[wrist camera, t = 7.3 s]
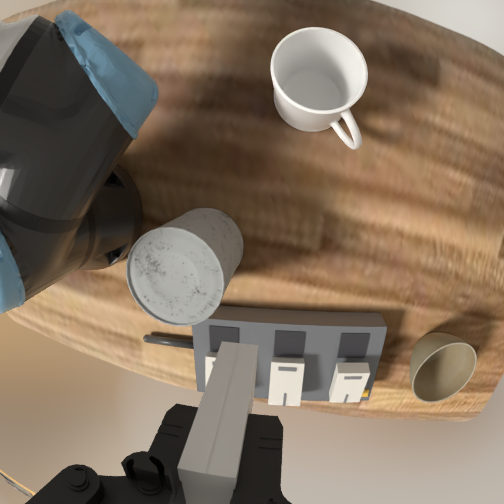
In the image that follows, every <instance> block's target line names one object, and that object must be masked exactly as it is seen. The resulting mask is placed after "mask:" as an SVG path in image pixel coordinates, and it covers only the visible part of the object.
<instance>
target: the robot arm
mask: <svg viewBox="0 0 504 504" xmlns="http://www.w3.org/2000/svg"><path fill="white" fill-rule="evenodd" d="M54 20H55V23H53V22H51V21H49V20H47V19H45V18H43V17H41V16H39V15H36V14H34V15H31V16H29V17H26V18H23V19H21V20H18V21H16V22H12V23H5V22H3V21H1V20H0V314H1V313H4V312H6V311H8V310H11V309H13V308H15V307H19V306H21V305H23V304H24V302H25V301H27V300H28V299H30V298H31V297H33V296H35V295H36V294H38V293H39V292H41V291H43V290H44V289H46V288H48V287H49V286H51V285H52V284H54V283H56V282H57V281H59V280H61V279H62V278H64V277H66V276H67V275H69V274H71V273H72V272H74V271H76V270H98V269H104V268H107V267H110V266H112V265H114V264H115V263H117V262H118V261H120V260H122V259H123V258H124V257H126V256H127V255H128V254H129V252H130V250H131V248H132V247H133V245H134V243H135V242H136V241H137V240H138V237H139V234H140V230H141V225H142V206H141V200H140V197H139V193H138V191H137V188H136V186H135V184H134V182H133V181H132V179H131V178H130V176H129V175H128V174H127V173H126V171H125V170H124V169H122V168H121V167H120V166H119V165H117V163H118V161H119V160H120V158H121V157H122V155H123V154H124V152H125V151H126V149H127V148H128V146H129V145H130V144H131V142H132V141H133V139H134V140H136V138H137V137H138V131H139V129H140V128H141V126H142V125H143V123H144V122H145V120H146V119H147V117H148V116H149V114H150V113H151V111H152V110H153V108H154V107H155V105H156V103H157V100H158V95H159V91H158V87H157V84H156V82H155V81H154V79H153V78H152V77H151V76H150V75H149V74H147V73H146V72H145V71H144V70H143V69H142V68H141V67H140V66H139V65H137V64H136V63H135V62H134V61H133V60H132V59H131V58H129V57H128V56H127V55H126V54H125V53H124V52H122V51H121V50H120V49H119V48H118V47H116V46H115V45H114V44H113V43H112V42H110V41H109V40H108V39H107V38H106V37H104V36H103V35H102V34H101V33H99V32H98V31H97V30H95V29H94V28H93V27H92V26H91V25H89V24H88V23H86V22H85V21H84V20H83V19H81V18H80V17H79V16H78V15H77V14H75V13H74V12H72V11H71V10H66V11H64V12H62V13H61V14H59V15H57V16H56V18H55V19H54ZM257 355H258V345H252V344H242V343H233V342H224V341H222V343H221V345H220V348H219V351H218V354H217V357H216V360H215V362H214V365H213V368H212V371H211V374H210V377H209V379H208V382H207V385H206V388H205V391H204V394H203V397H202V399H201V402H200V405H199V408H198V407H192V406H186V405H181V404H175V405H174V406H173V407H172V408H171V409H169V410H168V411H167V412H166V414H165V416H164V419H163V421H162V424H161V425H160V427H159V429H158V433H157V434H156V436H155V438H154V441H153V443H152V445H151V447H150V449H149V451H148V452H145V451H141V452H136V453H133V454H131V455H129V456H127V457H126V458H125V459H124V460H123V461H122V462H121V464H122V466H123V469H124V471H125V474H126V476H102V475H97V473H96V472H95V471H94V470H93V469H92V468H90V467H87V466H85V465H78V464H76V465H71V466H68V467H67V468H65V469H63V470H62V471H61V472H60V473H59V474H57V475H56V476H55V477H54V478H53V479H52V480H51V481H50V482H49V483H48V484H46V486H44V487H43V488H42V489H41V490H40V491H39V492H38V493H36V494H35V495H34V496H33V497H32V498H31V499H30V500H29V501H28V502H26V503H25V504H292V503H290V502H289V501H287V499H286V498H285V497H284V496H283V494H282V491H281V486H280V484H281V464H282V443H283V426H282V424H281V422H280V420H279V418H278V416H268V415H258V414H251V412H252V406H253V399H254V391H255V379H256V367H257Z"/></svg>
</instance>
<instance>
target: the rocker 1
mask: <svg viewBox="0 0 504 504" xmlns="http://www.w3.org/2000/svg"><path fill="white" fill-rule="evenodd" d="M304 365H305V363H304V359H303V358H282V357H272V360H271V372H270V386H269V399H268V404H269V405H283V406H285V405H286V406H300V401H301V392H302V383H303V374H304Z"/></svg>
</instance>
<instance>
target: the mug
mask: <svg viewBox="0 0 504 504" xmlns="http://www.w3.org/2000/svg"><path fill="white" fill-rule="evenodd" d="M271 76H272V81H273V86H274V103H275V106H276V109H277V111H278V113H279V115H280V116H281V117H282V118H283V120H284V121H285V122H287V123H288V124H289V125H291V126H292V127H294V128H296V129H299V130H302V131H307V132H318V131H323V130H326V129H328V128H330V127H332V128H333V129H334V130H335V132H336V133H337V134H338V136H339V137H340V138H341V139H342V140H343V142H344V143H345V144H346V145H347V146H348V147H350V148H351V149H358V148H359V147H360V146H361V145H362V138H361V134H360V131H359V128H358V126H357V124H356V122H355V120H354V118H353V116H352V114H351V111H350V109H349V108H350V107H351V106H352V105H354V104H355V103H356V102H357V101H358V100H359V98H360V97H361V96H362V94H363V92H364V90H365V88H366V85H367V80H368V70H367V64H366V61H365V59H364V56H363V55H362V53H361V51H360V50H359V48H358V47H357V46H356V45H355V44H354V43H353V42H352V41H351V40H350V39H349V38H347V37H346V36H344V35H342V34H341V33H339V32H336V31H334V30H331V29H327V28H321V27H309V28H303V29H299V30H297V31H294V32H292V33H290V34H289V35H287V36H286V37H285V38H283V39H282V40H281V41H280V42H279V44H278V45H277V47H276V48H275V50H274V52H273V55H272V58H271ZM341 117H343V119H344V120H345V122H346V124H347V126H348V128H349V130H350V132H351V135H352V137H353V140H352V139H351V138H350V137H349V136H348V135H347V134H346V133H345V131H344V130H343V129H342V127H341V126H340V124H339V123H338V121H339V120H340V119H341Z"/></svg>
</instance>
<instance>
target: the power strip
mask: <svg viewBox="0 0 504 504" xmlns="http://www.w3.org/2000/svg"><path fill="white" fill-rule="evenodd" d="M192 331H193V340H185V339H177V338H169V337H162V336H155V335H145V336H144V337H143V339H144V341H145V342H147V343H153V344H160V345H167V346H174V347H182V348H189V349H194V358H195V369H196V381H197V391H199V392H204V391H205V388H206V381H205V356H206V355H207V353H208V352H218V351H219V348H220V345H221V343H222V341H224V342H233V343H242V344H252V345H258V355H257V367H256V379H255V391H254V398H267V399H269V386H270V372H271V360H272V357H282V358H303V359H304V363H305V365H304V374H303V383H302V392H301V400H308V401H330V399H329V390H330V387H331V383H332V379H333V376H334V372H335V368H336V364H337V363H368V365H369V370H370V375H369V378H368V380H367V383H366V386H365V388H364V391H363V393H362V396H361V398H360V400H369V397H370V393H371V390H372V386H373V383H374V379H375V376H376V372H377V368H378V364H379V361H380V357H381V353H382V349H383V344H384V340H385V336H386V331H387V325H386V323H385V321H384V320H383V318H382V316H381V314H380V313H363V312H328V311H303V310H283V309H265V308H250V307H235V306H222V305H219V306H218V308H217V309H216V310H215V312H214V313H213V314H212V315H211V316H210V317H208V318H207V319H206V320H204V321H202V322H200V323H198V324H195V325H192Z"/></svg>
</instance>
